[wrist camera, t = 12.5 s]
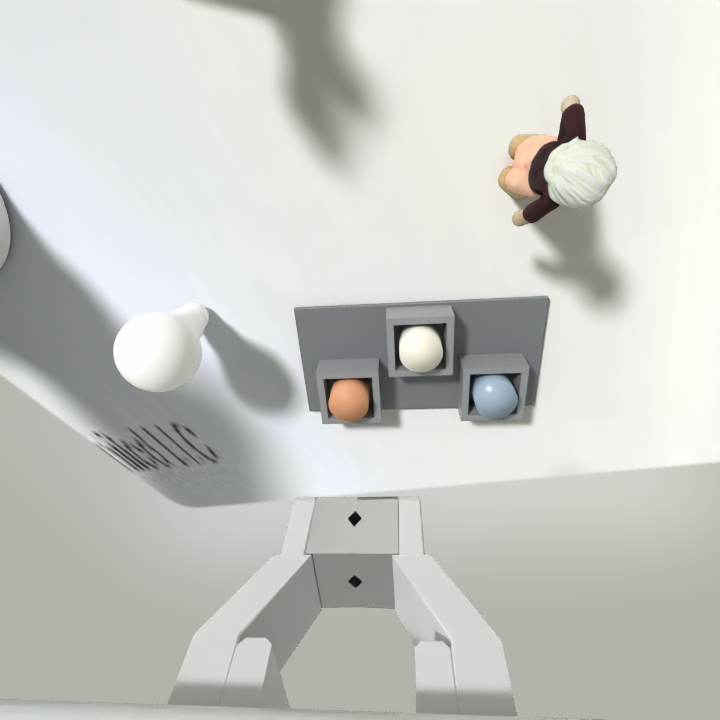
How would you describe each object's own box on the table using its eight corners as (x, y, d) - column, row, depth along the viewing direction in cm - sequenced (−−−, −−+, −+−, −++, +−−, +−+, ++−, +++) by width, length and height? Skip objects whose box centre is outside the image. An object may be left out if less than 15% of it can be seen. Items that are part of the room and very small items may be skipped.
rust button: (334, 403, 43) (330, 422, 41) (330, 371, 42) (326, 389, 39) (370, 402, 43) (369, 421, 40) (368, 370, 41) (367, 387, 39)
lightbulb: (151, 300, 40) (76, 358, 31) (201, 267, 38) (138, 317, 29) (196, 352, 43) (140, 420, 33) (245, 322, 41) (200, 386, 31)
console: (310, 408, 45) (305, 426, 42) (295, 307, 40) (288, 321, 37) (532, 402, 43) (541, 420, 40) (547, 295, 38) (558, 309, 35)
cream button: (399, 356, 40) (400, 373, 38) (398, 320, 39) (398, 335, 36) (439, 355, 40) (442, 371, 37) (439, 318, 38) (443, 333, 36)
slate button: (469, 400, 42) (474, 418, 39) (470, 367, 40) (476, 384, 38) (507, 399, 42) (515, 417, 39) (511, 366, 40) (519, 383, 37)
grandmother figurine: (538, 213, 35) (607, 258, 24) (488, 210, 35) (535, 253, 24) (565, 100, 31) (662, 90, 20) (510, 96, 31) (576, 85, 20)
